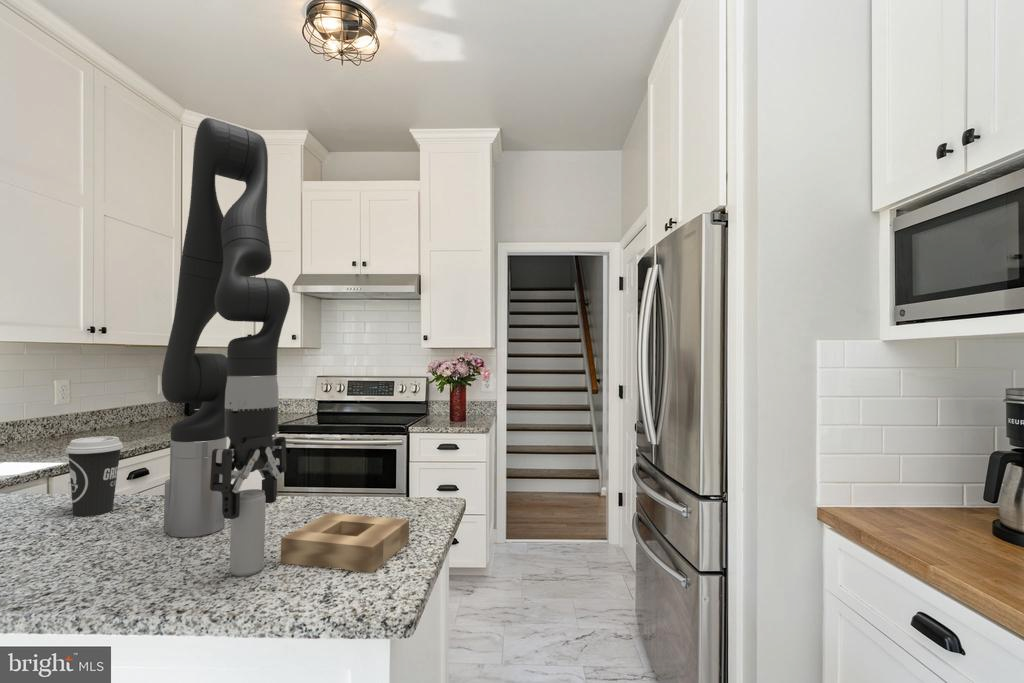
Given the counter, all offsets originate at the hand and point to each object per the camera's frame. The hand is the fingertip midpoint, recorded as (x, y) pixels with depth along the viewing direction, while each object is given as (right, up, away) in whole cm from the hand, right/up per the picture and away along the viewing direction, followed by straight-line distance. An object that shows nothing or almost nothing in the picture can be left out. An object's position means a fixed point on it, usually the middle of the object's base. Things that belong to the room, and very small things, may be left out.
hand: (250, 510), depth 83 cm
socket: (+12, -10, +8) cm, 18 cm away
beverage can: (-1, -10, 0) cm, 10 cm away
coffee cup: (-47, -10, +28) cm, 55 cm away
